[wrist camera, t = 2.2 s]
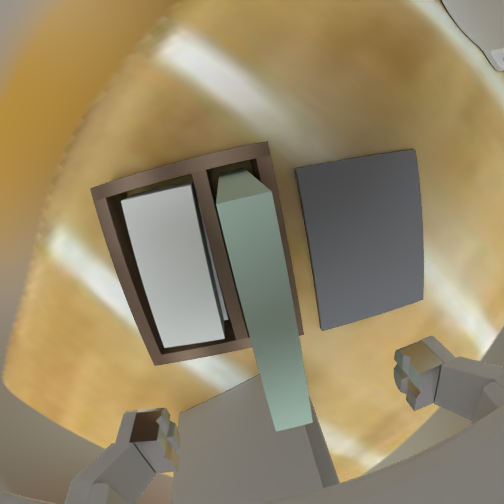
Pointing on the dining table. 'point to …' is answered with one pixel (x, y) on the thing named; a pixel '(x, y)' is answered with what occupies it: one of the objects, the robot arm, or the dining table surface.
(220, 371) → the dining table surface
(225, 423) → the brochure
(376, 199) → the mat
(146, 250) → the offcut upper
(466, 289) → the dining table surface
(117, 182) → the rack
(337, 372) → the dining table surface
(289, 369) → the block
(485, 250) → the dining table surface
